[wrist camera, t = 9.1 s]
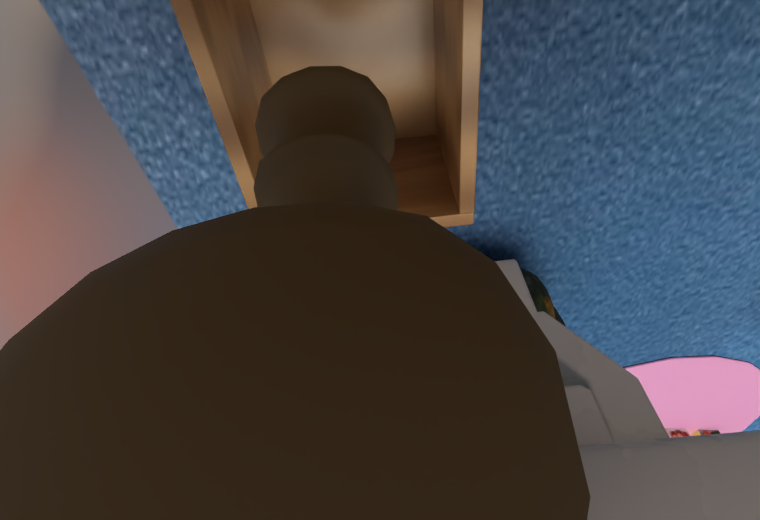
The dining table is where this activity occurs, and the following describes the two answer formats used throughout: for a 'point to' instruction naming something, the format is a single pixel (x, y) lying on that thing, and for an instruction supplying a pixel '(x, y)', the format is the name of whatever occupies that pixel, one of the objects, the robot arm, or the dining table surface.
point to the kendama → (293, 357)
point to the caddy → (365, 56)
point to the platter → (701, 393)
